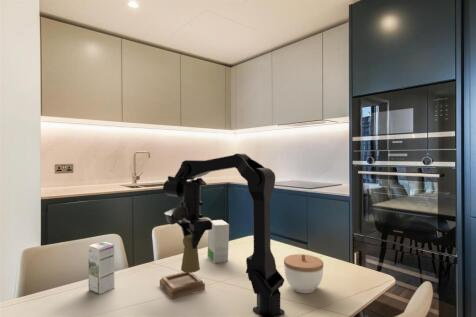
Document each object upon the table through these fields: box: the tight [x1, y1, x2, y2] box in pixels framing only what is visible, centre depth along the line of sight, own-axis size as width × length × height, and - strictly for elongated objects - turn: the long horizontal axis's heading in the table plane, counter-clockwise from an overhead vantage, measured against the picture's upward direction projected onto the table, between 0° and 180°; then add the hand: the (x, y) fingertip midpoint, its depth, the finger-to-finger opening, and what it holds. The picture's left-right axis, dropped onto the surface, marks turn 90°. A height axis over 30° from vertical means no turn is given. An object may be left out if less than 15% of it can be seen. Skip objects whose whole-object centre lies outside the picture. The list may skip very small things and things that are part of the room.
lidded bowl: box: [283, 253, 324, 294], centre depth 96 cm, size 13×13×11 cm
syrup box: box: [87, 241, 115, 295], centre depth 94 cm, size 6×6×14 cm
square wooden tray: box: [159, 271, 206, 300], centre depth 96 cm, size 11×11×3 cm
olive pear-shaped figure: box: [180, 235, 200, 273], centre depth 96 cm, size 6×6×11 cm
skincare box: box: [207, 219, 230, 264], centre depth 122 cm, size 8×7×16 cm
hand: (190, 246), depth 96 cm, fingers closed on olive pear-shaped figure, 5 cm apart
